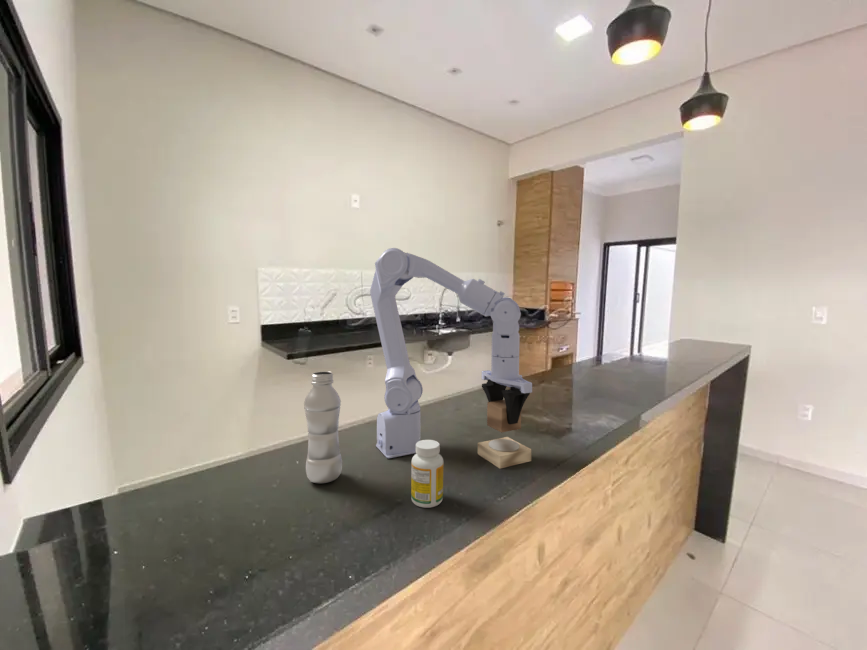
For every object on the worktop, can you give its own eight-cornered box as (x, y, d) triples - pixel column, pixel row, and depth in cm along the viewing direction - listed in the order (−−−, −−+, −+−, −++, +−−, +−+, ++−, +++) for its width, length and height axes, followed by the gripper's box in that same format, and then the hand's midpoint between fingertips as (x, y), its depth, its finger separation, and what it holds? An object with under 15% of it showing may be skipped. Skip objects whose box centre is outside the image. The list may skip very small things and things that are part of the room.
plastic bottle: (350, 476, 71) (348, 372, 70) (322, 492, 66) (320, 378, 64) (325, 468, 75) (324, 368, 73) (297, 482, 69) (295, 374, 68)
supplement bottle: (417, 511, 60) (417, 452, 59) (406, 495, 65) (406, 440, 64) (448, 504, 62) (448, 447, 61) (435, 489, 67) (436, 436, 66)
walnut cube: (501, 432, 76) (501, 408, 76) (487, 425, 81) (487, 402, 81) (520, 428, 79) (521, 405, 78) (505, 421, 83) (506, 399, 83)
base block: (499, 468, 75) (500, 454, 75) (477, 453, 82) (477, 441, 82) (531, 460, 79) (531, 447, 78) (507, 447, 86) (507, 435, 85)
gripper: (544, 359, 74) (543, 426, 75) (499, 350, 87) (499, 408, 88) (516, 361, 71) (515, 432, 72) (473, 352, 84) (473, 412, 85)
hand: (504, 419), depth 80 cm, fingers closed on walnut cube, 5 cm apart
